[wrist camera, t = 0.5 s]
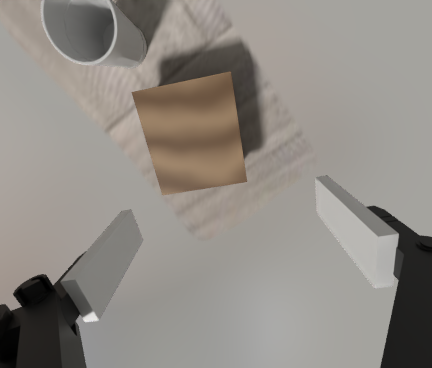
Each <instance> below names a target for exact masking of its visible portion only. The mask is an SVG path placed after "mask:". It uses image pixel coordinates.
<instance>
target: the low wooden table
mask: <svg viewBox="0 0 432 368" xmlns="http://www.w3.org/2000/svg"><path fill="white" fill-rule="evenodd" d="M132 95H133V98H134V102H135V105H136V108H137V112H138V115H139V118H140V122H141V125H142V128H143V132H144V135H145V138H146V142H147V145H148V148H149V152H150V155H151V158H152V162H153V165H154V168H155V172H156V175H157V179H158V182H159V185H160V189H161V192H162V195H167V194H174V193H180V192H186V191H192V190H199V189H205V188H211V187H218V186H224V185H230V184H236V183H243V182H247V178H246V171H245V164H244V157H243V151H242V144H241V137H240V130H239V123H238V116H237V110H236V103H235V96H234V89H233V82H232V75H231V71H230V72H225V73H220V74H215V75H211V76H206V77H201V78H197V79H192V80H187V81H182V82H178V83H173V84H168V85H163V86H159V87H154V88H149V89H145V90H140V91H135V92H132Z"/></svg>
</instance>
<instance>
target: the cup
mask: <svg viewBox="0 0 432 368" xmlns="http://www.w3.org/2000/svg"><path fill="white" fill-rule="evenodd" d="M41 19H42V24H43V27H44V30H45V32H46V35H47V37H48V38H49V40H50V42H51V43H52V45H53V46H54V47H55V48H56V50H57V51H58V52H59V53H60V54H62V55H63V56H64V57H65V58H67V59H69V60H70V61H72V62H75V63H77V64H82V65H95V66H110V67H122V68H126V69H132V68H136V67H138V66H139V65H140V64H141V63H142V62H143V61H144V59H145V56H146V52H147V45H146V40H145V37H144V35H143V33H142V32H141V30H140V29H139V28H138V27H137V26H135V25H134V24H133V23H132V22H131V21H130V20H129V19H128V18H127V17H126V16H125V15H124V14H123V12H122V11H121V10H120V9H119V8H118V7H117V6H116V4H115V3H114V2H113V1H112V0H41Z"/></svg>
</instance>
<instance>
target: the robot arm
mask: <svg viewBox="0 0 432 368" xmlns="http://www.w3.org/2000/svg"><path fill="white" fill-rule="evenodd" d="M315 182H316V183H315V184H316V204H317V214H318V215H319V216H320V218H321V219H322V220H323V222H324V223H325V224H326V226H327V227H328V228H329V230H330V231H331V232H332V233H333V235H334V236H335V237H336V239H337V240H338V241H339V243H340V244H341V245H342V247H343V248H344V249H345V251H346V252H347V253H348V254H349V256H350V257H351V258H352V260H353V261H354V262H355V264H356V265H357V266H358V268H359V269H360V270H361V272H362V273H363V274H364V275H365V277H366V278H367V279H368V281H369V282H370V283H371V285H372V286H373V287H374V288H381V287H391V286H393V282H394V276H395V277H396V278H397V279H398V280H399V282H398V286H397V291H396V296H395V300H394V305H393V310H392V315H391V320H390V324H389V329H388V334H387V338H386V343H385V348H384V353H383V358H382V362H381V368H432V237H429V236H420V235H418V234H417V233H415V232H414V231H413V230H411V229H410V228H409V227H407V226H406V225H405V224H403V223H401V222H400V221H398V219H396V218H395V217H394V216H392V215H391V214H390V213H388V212H387V211H385V210H384V209H381V208H378V207H376V206H369V207H365V206H364V205H363V204H362V203H360V202H359V201H358V200H357V199H355V198H354V197H353V196H352V195H350V194H349V193H348V192H347V191H346V190H344V189H343V188H342V187H341V186H339V185H338V184H337V183H336V182H334V181H333V180H332V179H331V178H330V177H328V176H327V175H326V176H320V177H315ZM142 242H143V238H142V235H141V233H140V230H139V228H138V225H137V223H136V220H135V218H134V215H133V213H132V210H131V209H130V210H125V211H121V212H120V213H119V215H118V216H117V217H116V218H115V219H114V220H113V221H112V223H111V224H110V225H109V226H108V227H107V228H106V229H105V231H104V232H103V233H102V234H101V235H100V236H99V238H98V239H97V240H96V241H95V242H94V243H93V244H92V246H91V247H90V248H89V249H88V251H86V252H85V253H84V254H82V255H81V256H79V257H78V258H77V260H76V261H75V262H74V263H73V265H71V266H70V267H69V268H68V270H67V271H66V272H65V273H64V274H63V275H62V276H61V278H60V279H59V280H58V281H57V282H56V283H55V284H54V285H52V283H51V282H50V280H49V279H48V277H47V275H44V274H42V275H37V276H35V277H32V278H31V279H29V280H27V281H26V282H24V283H22V284H21V285H20V286H19V287H18V288H17V289H16V290H15V292H14V293H13V295H14V296H15V297H16V299H17V300H18V302H19V303H20V304H21V306H22V307H20V308H17V309H15V310H12V311H10V309H9V308H8V307H7V306H6V305H5V304H2V305H0V368H86V363H85V357H84V352H83V347H82V342H81V336H80V331H79V326H78V324H77V323H76V319H77V318H78V316H79V315H81V316H82V318H83V319H84V321H85V322H92V321H99V320H100V318H101V316H102V314H103V312H104V311H105V309H106V307H107V305H108V303H109V302H110V300H111V298H112V296H113V294H114V292H115V291H116V289H117V287H118V285H119V283H120V282H121V280H122V278H123V276H124V274H125V272H126V271H127V269H128V267H129V265H130V263H131V262H132V260H133V258H134V256H135V254H136V252H137V251H138V249H139V247H140V245H141V243H142Z"/></svg>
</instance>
